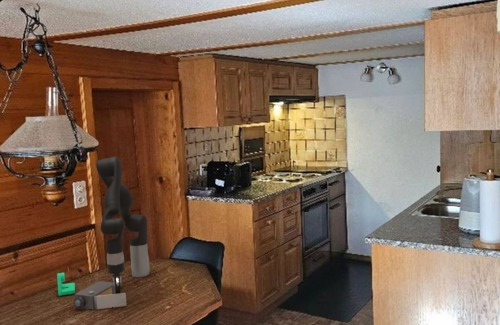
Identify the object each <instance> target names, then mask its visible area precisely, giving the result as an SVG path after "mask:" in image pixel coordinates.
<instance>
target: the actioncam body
mask: <svg viewBox="0 0 500 325" xmlns="http://www.w3.org/2000/svg"><path fill="white" fill-rule="evenodd" d="M109 294H116V291H115V286H114V283H113V282H111V281H102V280H99V281H97V282H95V283H93V284H91V285H89V286H88V287H86V288H84V289H82V290H80V291H78V292H75V293H74V299H73V305H74V306H75V308H76V309H80V308H83V309H82V310H88V309H92V310H91V311H95V310H94V309H95V304H94V296H100V295H109Z"/></svg>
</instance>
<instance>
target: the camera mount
mask: <svg viewBox="0 0 500 325" xmlns="http://www.w3.org/2000/svg"><path fill="white" fill-rule="evenodd" d="M56 276H57V277H56V278H57V292H58V293H57V294H58V296H65V295H72V294H73V295H74V294H76V283H75V282H70V283H64V282H66V277H65V276H66V275H65V272H58V273H56Z"/></svg>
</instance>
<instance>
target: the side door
mask: <svg viewBox="0 0 500 325" xmlns="http://www.w3.org/2000/svg"><path fill="white" fill-rule="evenodd" d="M126 294H127V293H126V292H121V293H118V294H109V295H100V296H94V304H95V310H94V311H96V310H102V309H111V308H112V307H113V308H120V307H126V306H127V295H126Z"/></svg>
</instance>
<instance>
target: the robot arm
mask: <svg viewBox="0 0 500 325" xmlns="http://www.w3.org/2000/svg"><path fill="white" fill-rule="evenodd" d="M122 165H123V164H122V161H121V160H120V158H119V157H117V156H111V157H106V158H102V159H99V160H97V161H96V163H95V166H96V167H95V169H96V171H97V173H98V175H99V177H100V179H101V181H102V183H103V184H104V185H105V186H106V188H107V190H106V192H105V195H104V198H103V209H104V210H103V217H102V220H101V223H100V231H101V233H102V235H105V236H109V235H116V236H115V237H111V238H109V239H107V240H106V241H105V242H106V243H105V244H106V245H105V247H106V263H107V264H106V266H107V272H108V274H112V275H111V276H112V277H111V278H112V281H113V283H114V286H115V291H116V294H118V293H122V292H121V290H122V287H121V286H122V273H123V272H124V271H125V268H126V267H125V255H124V251H123V250H124V246H123V236H124V233H125V229H126V231H128V232H130V233H134V232H135V233H137V234H138V235H137V236H134V237H131V239H129V252H130V268H131V276H132V277H133V278H143V277H146V276H149V274H150V270H151V269H150V256H149V253H148V251H149V250H148V219H147V216H146V215H145V214H132V212H131V211H130V210H131V208H132V205H133V203H134V202H133V201H134V198H133V195H132V193H131V192H130V189H129V188H128V186H126V185H124V184H123V183H122V175H123V168H122ZM119 215H120V216H121V217H117V216H119ZM113 217H114V218H113ZM115 217H116V218H115Z"/></svg>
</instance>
